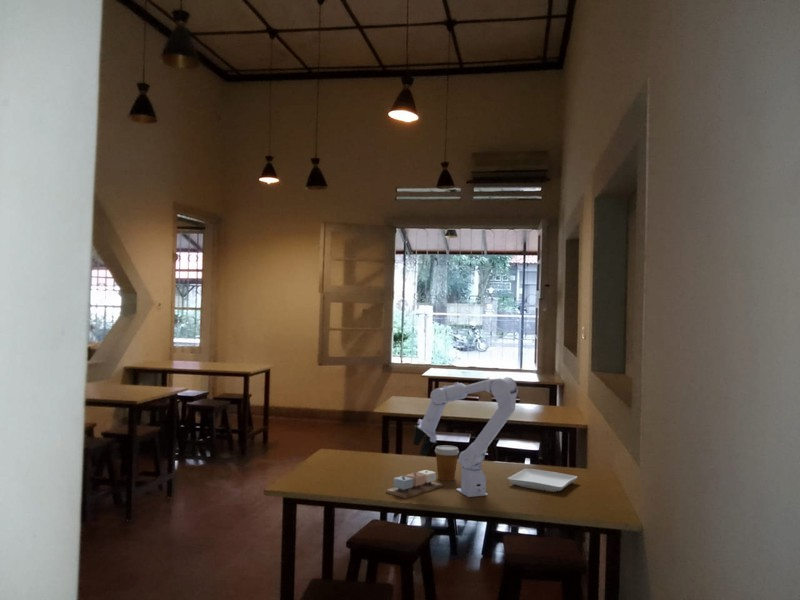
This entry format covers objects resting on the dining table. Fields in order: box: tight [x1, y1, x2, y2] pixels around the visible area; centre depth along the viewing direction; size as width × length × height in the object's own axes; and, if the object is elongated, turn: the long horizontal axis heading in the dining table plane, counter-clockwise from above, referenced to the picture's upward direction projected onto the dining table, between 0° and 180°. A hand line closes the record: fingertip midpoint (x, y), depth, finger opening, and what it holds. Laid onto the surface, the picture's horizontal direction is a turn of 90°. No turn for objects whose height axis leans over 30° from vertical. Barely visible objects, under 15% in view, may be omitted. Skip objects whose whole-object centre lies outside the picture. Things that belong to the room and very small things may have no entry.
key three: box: [392, 475, 414, 490], centre depth 223 cm, size 5×5×3 cm
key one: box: [416, 469, 437, 483], centre depth 233 cm, size 5×5×3 cm
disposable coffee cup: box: [434, 444, 460, 482], centre depth 245 cm, size 10×10×12 cm
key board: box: [385, 481, 443, 499], centre depth 228 cm, size 21×9×3 cm, turn 139°
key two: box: [405, 472, 425, 486], centre depth 228 cm, size 5×5×3 cm
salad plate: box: [507, 468, 578, 493], centre depth 240 cm, size 21×21×3 cm
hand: (418, 449), depth 238 cm, fingers open, 7 cm apart
